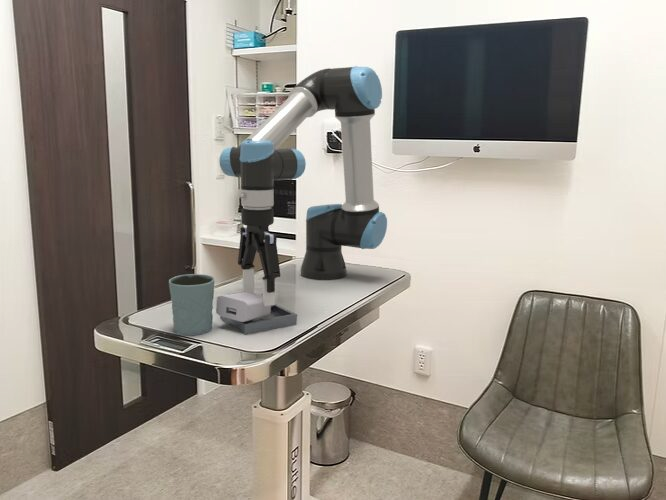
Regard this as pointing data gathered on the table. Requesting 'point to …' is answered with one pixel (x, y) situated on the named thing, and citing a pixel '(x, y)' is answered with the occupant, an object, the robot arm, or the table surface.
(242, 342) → the table surface
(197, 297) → the green cup
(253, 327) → the gray square tray
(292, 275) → the table surface
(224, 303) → the charger
